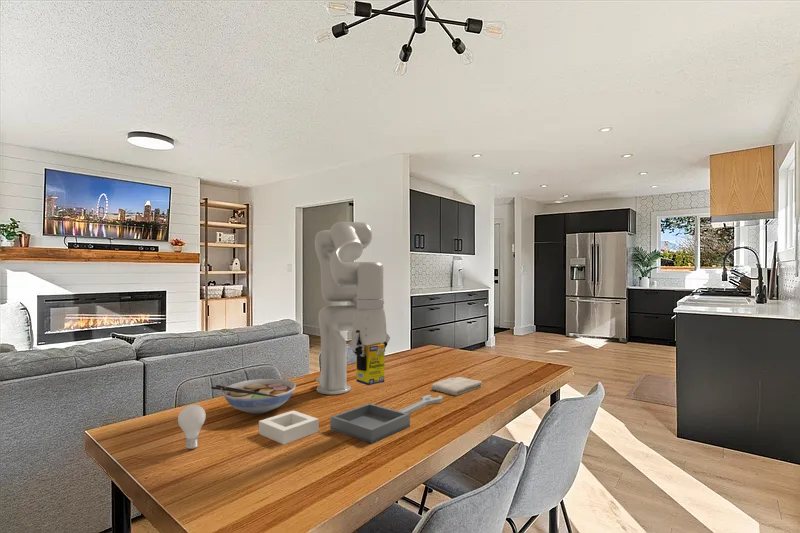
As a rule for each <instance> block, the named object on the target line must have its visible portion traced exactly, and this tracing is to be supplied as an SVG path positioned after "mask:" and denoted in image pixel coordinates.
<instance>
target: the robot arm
mask: <svg viewBox="0 0 800 533" xmlns="http://www.w3.org/2000/svg"><path fill="white" fill-rule="evenodd" d="M372 240H373V232H372V229H371V227H370V225H369V224H368V223H366V222H363V221H362V222H361V221H337V222H336V223H334V224H333V225H332V226H330V229H325V230H320V231H318V232H317V233H316V234H315V236H314V249H315V253H316V256H317V259H318V262H319V266H320V286H321V288H320V290H321V297H322V299H323V300H324V302H327V303H346V302H348V303H349V304H350V305H347V304H346V305H341V304H340V305H328V306H324V307H322V308H321V309H320V310H319V312H318V324H319V331H320V332H319V333H320V375H319V376H318V377H316V379H315V381H316V382H317V383H319V385H318V386H317V387H316V392H317V393H319V394H322V395H340V394H341V395H342V394H346V393H348V392H350V391H351V387H352V386H351V385H350V384H349V383H348V382H347V376H348V375H347V368H348V367H347V363H348V362H347V359H348V358H347V356H348V355H347V354H348V353H347V349H348V348H347V341H346V338H345V337H343V335H342V334H341V332H344V331H351V332H352V334H351V336H352V337H351V340H350V341H349V343H348V346H349V348H350V349H351V350H352V352H353V353H354V356H355V357H356V368H357V369H356V371H357V370H361V371H366V356H365V353H366V347H367V346H370V345H375V344H385V349H386V348H387V346H388V343H389V341H390V339H391V337H390V335H389V334H388V332H387V319H386V314H385V313H386V312H385V309H384V304H385V301H384V265H383V264H382V263H381V262H378V261H358V259H359V258H360V257H361V256H362V254H363V250H364V249H366V248H367V247H369V245H370V244H371V242H372ZM361 347H362V351H361Z"/></svg>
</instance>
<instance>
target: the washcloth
mask: <svg viewBox="0 0 800 533" xmlns="http://www.w3.org/2000/svg"><path fill="white" fill-rule="evenodd" d="M430 386H431V390H433V391H435V390H436V391H435V392H439V391H440V392H441V393H445V394H448V395H452V396H459V394H460V395H461V394H462V395H463V394H465V393H469V392H471V391H473V389H474V390H476V388H477V389H479V388H482V387H483V382H482V381H481V380H478V379H470V378H468V377H462V376H457V377H447V378H446V379H442V380H439V381H437V382H434V383H432V384H431V385H430Z"/></svg>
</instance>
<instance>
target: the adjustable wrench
mask: <svg viewBox="0 0 800 533" xmlns="http://www.w3.org/2000/svg"><path fill="white" fill-rule="evenodd" d="M442 402H443V396H442V395H438V396H437V397H432V394H426V395H424V396H421V398H420V400H419V401H417V402H415V403H413V404H412V403H411V404H410V405H408V406H405V407H403V408H401V409H398V410H397V411H400V412H404V413H408V414H411V413H413V412H416V411H417V410H419V409H422V408H424V407H425V406H429V405H433V404H440V403H442Z"/></svg>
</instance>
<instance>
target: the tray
mask: <svg viewBox="0 0 800 533" xmlns="http://www.w3.org/2000/svg"><path fill="white" fill-rule="evenodd" d="M409 427H411V413H409V414H408V413H404V412H400V411H398V410H396V409H392V408H389V407H386V406H381V405H377V404H374V403H371V402H370V403H366V404H364V405H360V406H358V407H354V408H352V409H349V410H346V411H343V412H341V413H337V414H334V415H331V416H330V430H331V431H334V432H338V433H339V434H343V435H346V436H349V437H351V438H355V439H357V440H359V441H363V442H366V443H369V444H371V445H372V444H374V443H376V442H379V441H381V440H383V439H385V438H387V437H390V436H392V435H394V434H396V433H398V432H400V431H403V430H404V429H407V428H409Z"/></svg>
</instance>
